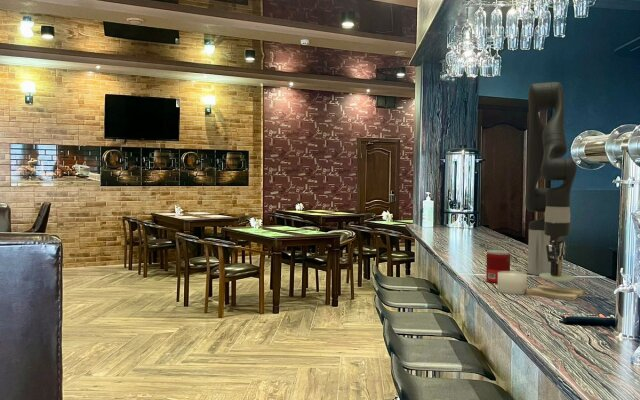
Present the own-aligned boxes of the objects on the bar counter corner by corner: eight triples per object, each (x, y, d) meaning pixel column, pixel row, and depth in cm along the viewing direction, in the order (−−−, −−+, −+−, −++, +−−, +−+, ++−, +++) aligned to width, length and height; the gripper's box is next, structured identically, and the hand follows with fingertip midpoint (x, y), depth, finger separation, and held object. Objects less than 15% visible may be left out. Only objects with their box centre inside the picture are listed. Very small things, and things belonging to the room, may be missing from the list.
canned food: (511, 284, 192) (511, 253, 192) (487, 283, 194) (487, 252, 193) (508, 280, 200) (508, 250, 199) (485, 279, 201) (485, 249, 201)
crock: (503, 287, 187) (504, 270, 187) (530, 291, 181) (531, 273, 181) (493, 291, 180) (493, 273, 180) (520, 295, 174) (521, 276, 174)
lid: (545, 274, 184) (545, 256, 184) (577, 278, 178) (577, 259, 178) (534, 278, 177) (535, 260, 176) (567, 282, 170) (568, 263, 170)
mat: (540, 287, 187) (540, 284, 187) (585, 293, 178) (585, 290, 178) (526, 294, 177) (526, 291, 176) (572, 300, 168) (572, 297, 168)
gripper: (552, 219, 184) (551, 270, 185) (537, 221, 173) (536, 275, 174) (576, 220, 179) (574, 273, 180) (562, 222, 169) (561, 278, 169)
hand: (556, 274), depth 177 cm, fingers closed on lid, 3 cm apart
